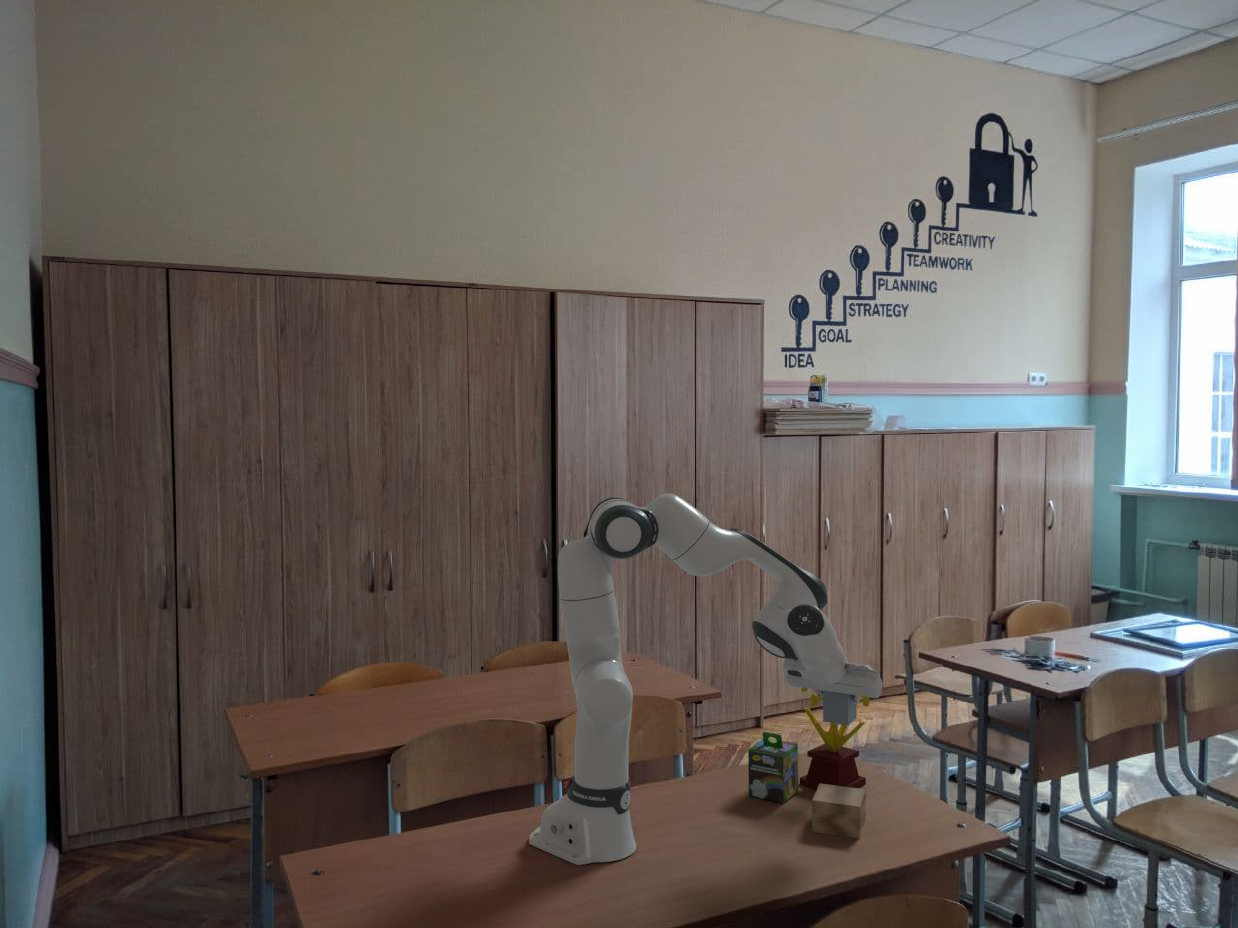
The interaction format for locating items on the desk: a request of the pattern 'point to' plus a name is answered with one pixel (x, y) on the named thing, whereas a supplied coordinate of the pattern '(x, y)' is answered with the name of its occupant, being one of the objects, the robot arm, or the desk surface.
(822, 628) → the robot arm
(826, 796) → the walnut box
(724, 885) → the desk surface
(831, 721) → the lidded storage box
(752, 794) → the chalk box
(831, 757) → the trophy
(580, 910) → the desk surface
